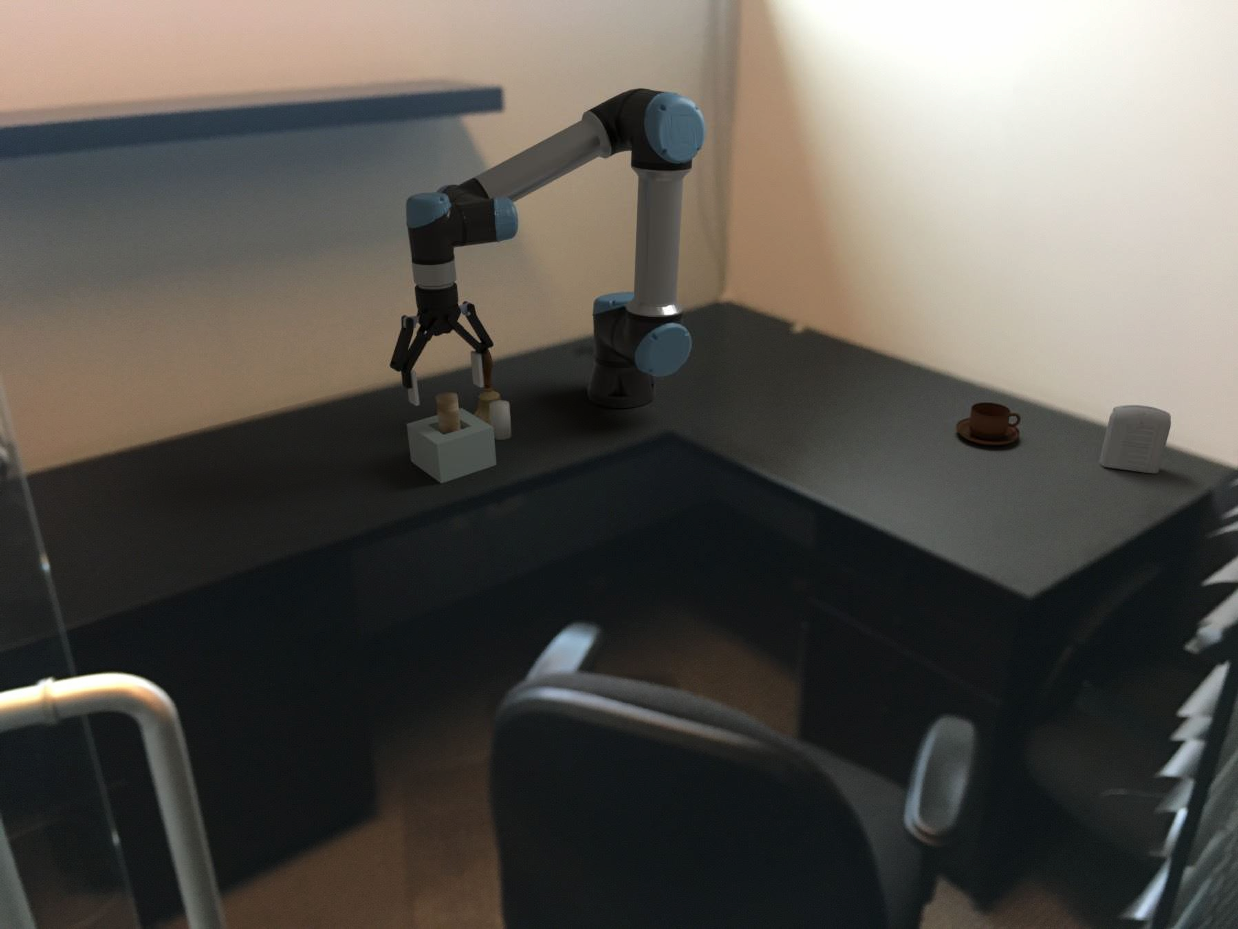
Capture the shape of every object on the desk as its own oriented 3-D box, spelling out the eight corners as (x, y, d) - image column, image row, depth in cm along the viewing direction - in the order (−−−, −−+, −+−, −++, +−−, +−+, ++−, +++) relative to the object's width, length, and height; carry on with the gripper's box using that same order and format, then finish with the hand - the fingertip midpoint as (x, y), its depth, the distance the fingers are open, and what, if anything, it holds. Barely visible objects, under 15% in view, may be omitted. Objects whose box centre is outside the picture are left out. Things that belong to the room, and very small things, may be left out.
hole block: (465, 444, 201) (461, 407, 197) (496, 465, 192) (493, 427, 188) (411, 461, 194) (406, 423, 190) (441, 483, 185) (437, 444, 182)
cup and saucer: (991, 421, 207) (995, 394, 204) (1031, 444, 197) (1036, 416, 194) (942, 430, 203) (946, 402, 200) (980, 454, 193) (985, 425, 190)
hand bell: (463, 422, 211) (457, 350, 204) (486, 408, 217) (480, 338, 210) (496, 429, 207) (490, 356, 200) (518, 414, 214) (513, 344, 207)
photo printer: (1157, 466, 187) (1172, 405, 181) (1160, 476, 183) (1176, 414, 178) (1097, 458, 190) (1111, 398, 185) (1099, 468, 187) (1113, 407, 181)
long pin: (457, 457, 196) (451, 390, 189) (467, 464, 193) (461, 397, 186) (439, 462, 193) (432, 395, 187) (449, 469, 190) (442, 402, 184)
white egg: (504, 429, 207) (502, 398, 204) (515, 436, 204) (512, 404, 201) (488, 435, 205) (485, 403, 201) (498, 441, 202) (495, 409, 199)
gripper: (485, 266, 187) (493, 372, 196) (361, 292, 173) (376, 405, 183) (506, 274, 181) (514, 383, 191) (380, 302, 168) (395, 417, 177)
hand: (447, 394), depth 187 cm, fingers open, 13 cm apart
